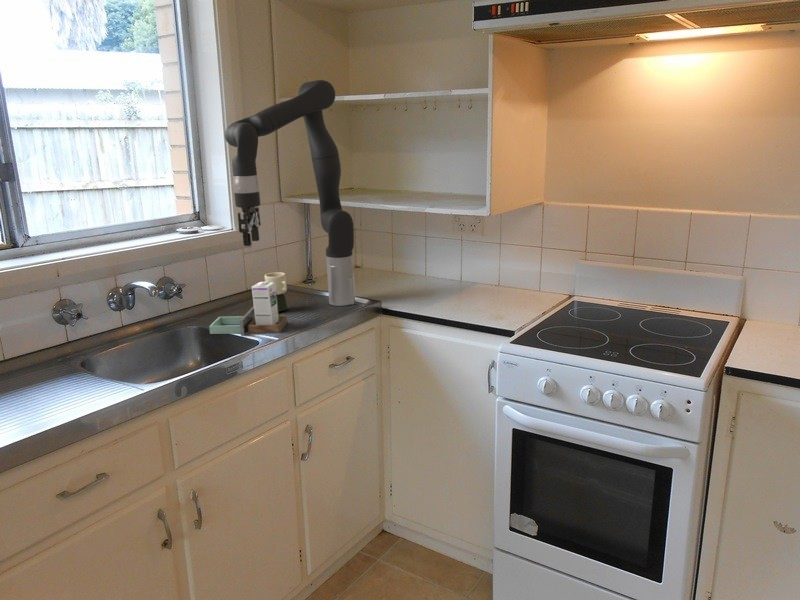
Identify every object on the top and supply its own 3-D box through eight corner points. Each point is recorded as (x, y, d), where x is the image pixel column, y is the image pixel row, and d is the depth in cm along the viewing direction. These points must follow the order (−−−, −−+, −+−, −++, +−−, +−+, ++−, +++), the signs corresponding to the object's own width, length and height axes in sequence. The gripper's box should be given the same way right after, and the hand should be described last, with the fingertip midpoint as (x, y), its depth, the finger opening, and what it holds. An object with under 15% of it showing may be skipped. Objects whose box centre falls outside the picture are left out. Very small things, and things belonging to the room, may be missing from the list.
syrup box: (273, 331, 195) (269, 286, 191) (255, 330, 196) (251, 285, 192) (280, 325, 200) (276, 281, 196) (263, 324, 202) (258, 281, 198)
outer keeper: (250, 323, 203) (249, 316, 203) (241, 333, 194) (241, 325, 193) (220, 324, 204) (219, 316, 203) (210, 333, 194) (209, 326, 194)
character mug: (296, 311, 215) (293, 274, 212) (280, 316, 210) (277, 278, 207) (276, 306, 222) (273, 270, 219) (260, 311, 217) (256, 274, 213)
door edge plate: (257, 321, 206) (255, 306, 204) (244, 335, 191) (242, 320, 190) (254, 321, 206) (252, 306, 204) (241, 336, 191) (239, 320, 190)
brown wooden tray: (287, 322, 203) (286, 315, 202) (280, 332, 193) (279, 325, 193) (256, 323, 203) (255, 315, 203) (248, 333, 194) (247, 325, 193)
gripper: (251, 192, 184) (257, 247, 188) (265, 188, 197) (269, 239, 202) (226, 193, 184) (232, 247, 189) (241, 188, 198) (246, 239, 202)
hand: (251, 243), depth 195 cm, fingers open, 8 cm apart
